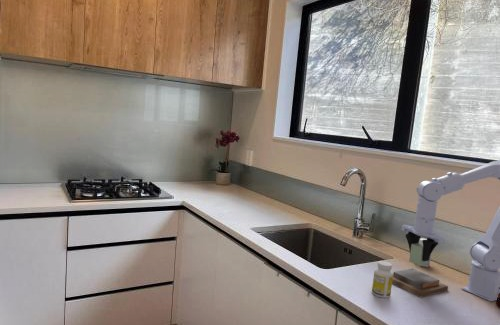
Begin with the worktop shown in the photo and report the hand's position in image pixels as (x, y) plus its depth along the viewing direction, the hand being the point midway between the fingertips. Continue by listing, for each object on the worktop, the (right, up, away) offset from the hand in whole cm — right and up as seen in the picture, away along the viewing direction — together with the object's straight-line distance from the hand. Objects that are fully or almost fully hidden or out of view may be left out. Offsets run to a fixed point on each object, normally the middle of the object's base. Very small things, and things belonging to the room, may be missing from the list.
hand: (418, 258), depth 126 cm
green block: (0, -2, 0) cm, 2 cm away
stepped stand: (-1, -9, 0) cm, 9 cm away
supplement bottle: (-16, -9, -10) cm, 21 cm away
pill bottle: (+11, -8, +22) cm, 25 cm away
